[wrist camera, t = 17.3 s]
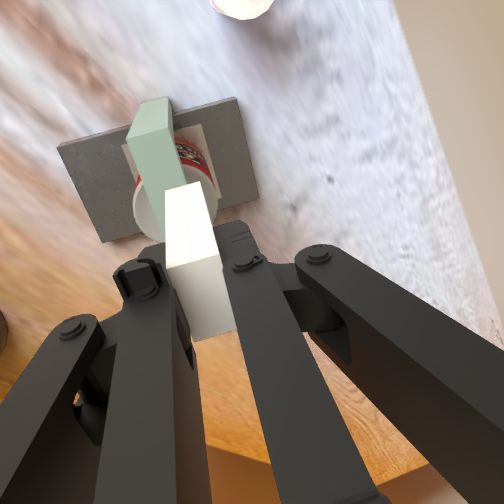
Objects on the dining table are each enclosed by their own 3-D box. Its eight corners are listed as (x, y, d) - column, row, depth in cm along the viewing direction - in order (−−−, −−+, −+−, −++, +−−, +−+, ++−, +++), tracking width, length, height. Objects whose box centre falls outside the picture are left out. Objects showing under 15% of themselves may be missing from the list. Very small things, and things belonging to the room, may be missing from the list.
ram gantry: (184, 228, 51) (192, 313, 35) (141, 103, 43) (125, 138, 27) (207, 222, 51) (225, 304, 35) (167, 95, 43) (168, 127, 27)
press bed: (104, 236, 49) (102, 244, 48) (60, 143, 44) (55, 148, 42) (256, 193, 51) (259, 198, 49) (233, 96, 45) (236, 99, 43)
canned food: (218, 153, 45) (231, 183, 36) (193, 214, 48) (199, 256, 38) (152, 126, 42) (148, 151, 33) (130, 192, 45) (121, 232, 36)
